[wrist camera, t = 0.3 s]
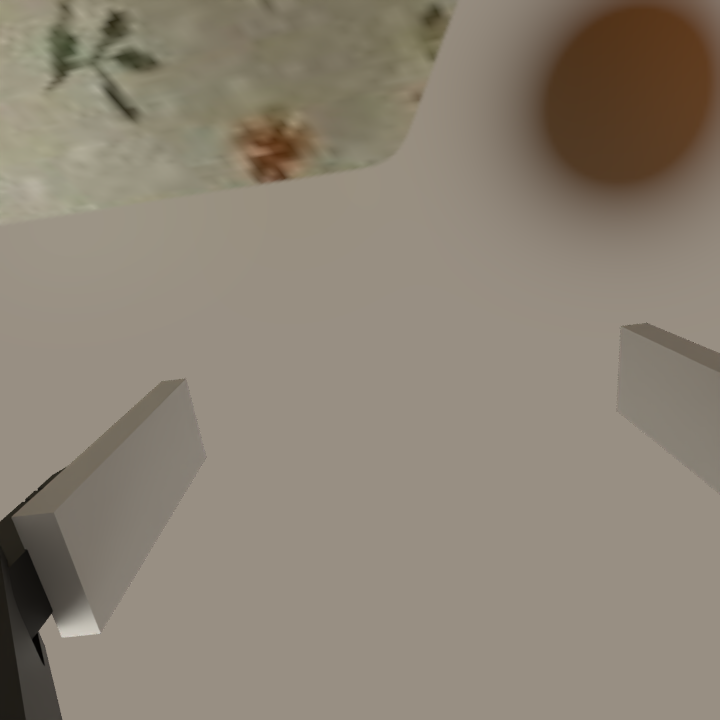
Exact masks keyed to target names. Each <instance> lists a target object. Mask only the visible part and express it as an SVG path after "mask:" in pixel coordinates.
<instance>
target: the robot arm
mask: <svg viewBox="0 0 720 720" xmlns="http://www.w3.org/2000/svg"><path fill="white" fill-rule="evenodd" d="M620 329H621V330H620V349H619V350H620V351H619V371H618V392H617V411H618V412H619V413H620V414H621V415H622V416H624V417H625V418H626V419H627V420H629V421H630V422H631V423H632V424H633V425H635V426H636V427H637V428H638V429H640V430H641V431H642V432H643V433H645V434H646V435H647V436H648V437H650V438H651V439H652V440H653V441H655V442H656V443H657V444H658V445H659V446H661V447H662V448H663V449H664V450H666V451H667V452H668V453H669V454H671V455H672V456H673V457H674V458H676V459H677V460H678V461H679V462H681V463H682V464H683V465H684V466H685V467H687V468H688V469H689V470H690V471H692V472H693V473H694V474H696V475H697V476H698V477H699V478H700V479H702V480H703V481H704V482H705V483H707V484H708V485H709V486H710V487H711V488H713V489H714V490H715V491H717V492H718V493H719V494H720V353H718V352H715V351H713V350H710V349H708V348H706V347H703V346H701V345H699V344H696V343H694V342H691V341H689V340H686V339H684V338H682V337H679V336H677V335H675V334H672V333H670V332H667V331H665V330H663V329H660V328H658V327H655V326H653V325H650V324H648V323H642V324H634V325H627V326H621V328H620ZM205 459H206V454H205V450H204V446H203V442H202V439H201V434H200V430H199V427H198V423H197V419H196V415H195V411H194V407H193V403H192V400H191V396H190V392H189V388H188V384H187V380H186V379H178V380H169V381H162V382H161V383H160V384H158V385H157V386H156V387H155V388H154V389H153V390H152V391H150V392H149V393H148V394H147V395H146V396H145V397H144V398H143V399H142V400H141V401H139V402H138V403H137V404H136V405H135V406H134V407H133V408H132V409H131V410H129V411H128V412H127V413H126V414H125V415H124V416H123V417H122V418H121V419H119V420H118V421H117V422H116V423H115V424H114V425H113V426H112V427H111V428H109V429H108V430H107V431H106V432H105V433H104V434H103V435H102V436H101V437H99V439H97V440H96V441H95V442H94V443H93V444H92V445H91V446H90V447H88V448H87V449H86V450H85V451H84V452H83V453H82V454H81V455H80V456H78V457H77V458H76V459H75V460H74V461H73V462H72V463H71V464H70V465H68V466H67V467H65V468H64V469H62V470H60V471H59V472H57V473H55V474H54V475H52V476H51V477H50V478H49V479H48V480H46V481H45V482H44V483H43V484H42V485H41V486H40V487H39V488H38V491H34V492H33V493H32V494H31V495H30V496H28V498H26V499H25V502H22V503H21V504H20V505H18V506H17V507H16V508H15V509H14V510H13V511H12V512H10V513H9V514H8V515H7V516H6V517H5V518H4V519H3V520H1V521H0V720H62V716H61V713H60V708H59V704H58V700H57V696H56V691H55V687H54V683H53V679H52V674H51V670H50V666H49V662H48V657H47V654H46V649H45V645H44V643H43V641H42V638H41V636H40V634H39V632H38V631H39V630H40V628H41V627H42V625H43V624H44V623H45V622H46V620H47V619H48V618H49V616H50V615H51V614H52V615H53V618H54V620H55V622H56V624H57V627H58V629H59V632H60V634H61V637H73V636H82V635H92V634H101V632H102V630H103V629H104V627H105V626H106V623H107V622H108V620H109V619H110V617H111V616H112V614H113V612H114V610H115V609H116V607H117V605H118V604H119V602H120V601H121V599H122V597H123V596H124V594H125V592H126V591H127V589H128V587H129V586H130V584H131V582H132V580H133V579H134V577H135V576H136V574H137V572H138V571H139V569H140V567H141V565H142V564H143V562H144V561H145V559H146V557H147V556H148V554H149V552H150V551H151V549H152V547H153V545H154V544H155V542H156V541H157V539H158V537H159V536H160V534H161V532H162V531H163V529H164V527H165V526H166V524H167V522H168V520H169V519H170V517H171V516H172V514H173V512H174V511H175V509H176V507H177V506H178V504H179V502H180V501H181V499H182V497H183V496H184V494H185V492H186V491H187V489H188V487H189V486H190V484H191V482H192V481H193V479H194V477H195V476H196V474H197V472H198V471H199V469H200V467H201V466H202V464H203V462H204V461H205Z"/></svg>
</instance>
